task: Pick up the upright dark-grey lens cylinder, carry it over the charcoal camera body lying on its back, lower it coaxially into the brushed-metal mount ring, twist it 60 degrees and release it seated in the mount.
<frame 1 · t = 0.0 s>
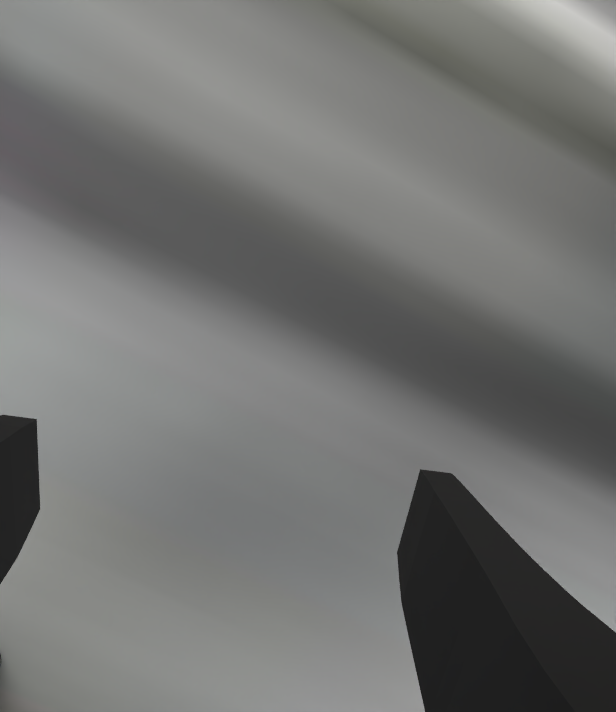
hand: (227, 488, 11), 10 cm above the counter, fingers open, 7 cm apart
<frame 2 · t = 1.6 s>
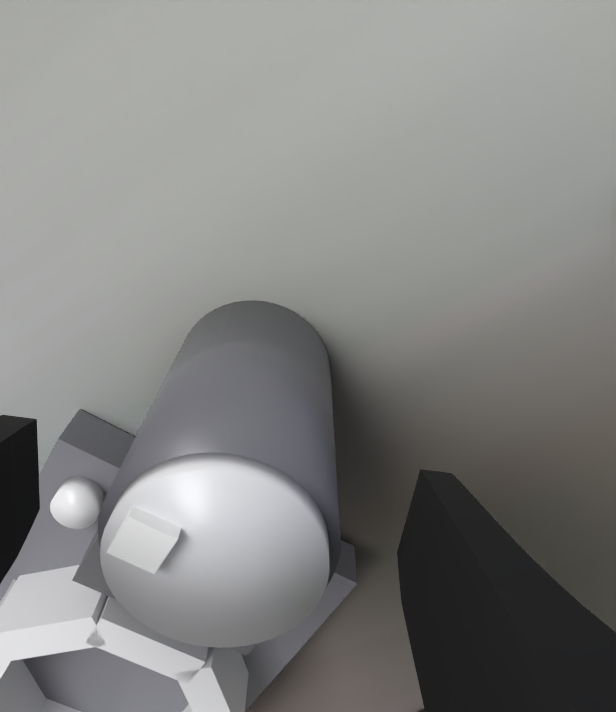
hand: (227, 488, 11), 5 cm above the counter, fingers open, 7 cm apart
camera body: (142, 600, 19), on the counter
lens: (254, 372, 16), on the counter
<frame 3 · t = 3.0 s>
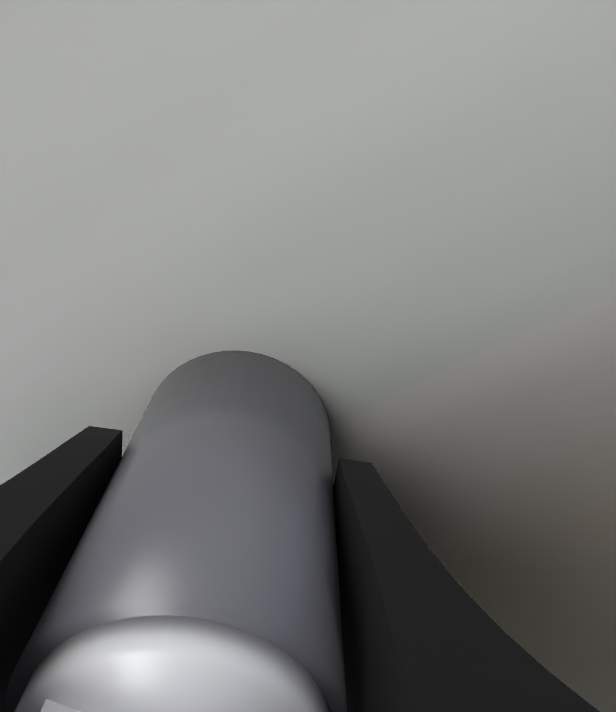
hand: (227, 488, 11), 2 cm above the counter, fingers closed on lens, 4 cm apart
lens: (238, 434, 13), on the counter, touching gripper
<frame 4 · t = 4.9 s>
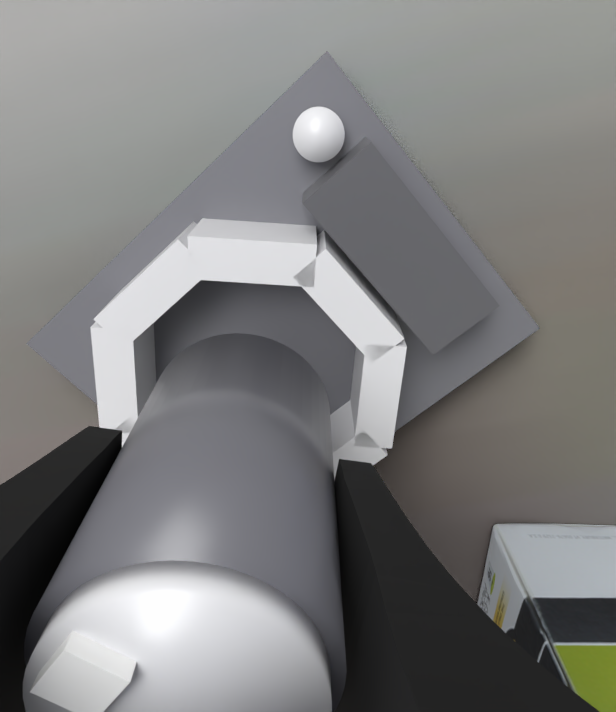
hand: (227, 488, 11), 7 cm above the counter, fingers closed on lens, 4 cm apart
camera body: (283, 316, 18), on the counter
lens: (241, 415, 13), point 5 cm above the counter, touching gripper
tea box: (578, 659, 24), on the counter
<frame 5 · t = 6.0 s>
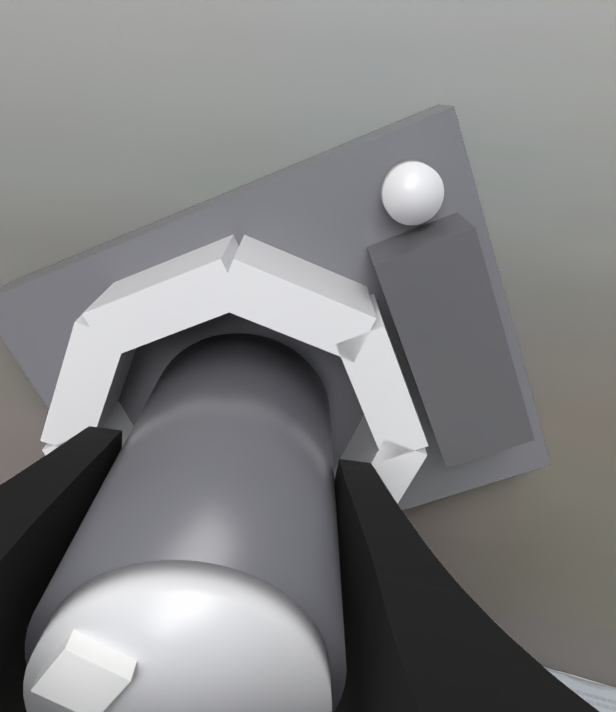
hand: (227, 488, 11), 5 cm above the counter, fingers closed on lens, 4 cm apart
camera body: (284, 362, 15), on the counter
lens: (241, 415, 13), point 2 cm above the counter, touching gripper
when the fingers open (5 cm above the counter, at t = 6.8 s): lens stays where it is, resting on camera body.
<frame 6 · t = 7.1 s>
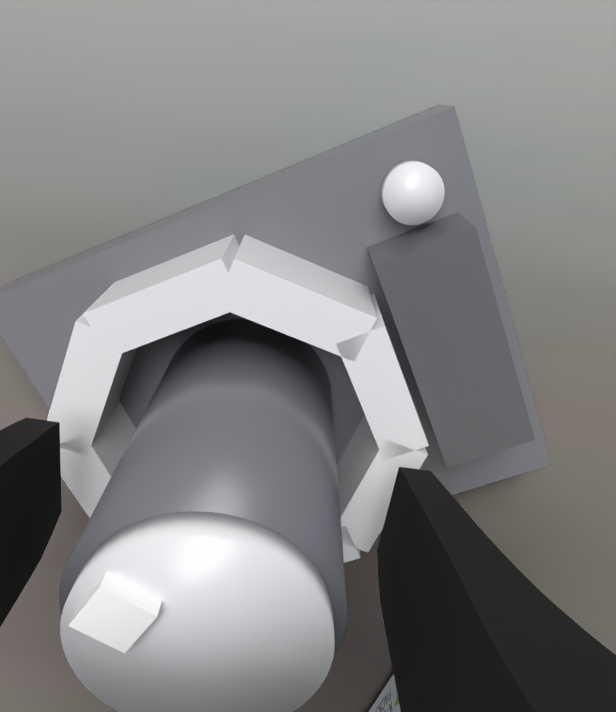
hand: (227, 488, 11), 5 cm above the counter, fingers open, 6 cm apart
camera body: (285, 362, 15), on the counter
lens: (247, 396, 14), point 2 cm above the counter, touching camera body
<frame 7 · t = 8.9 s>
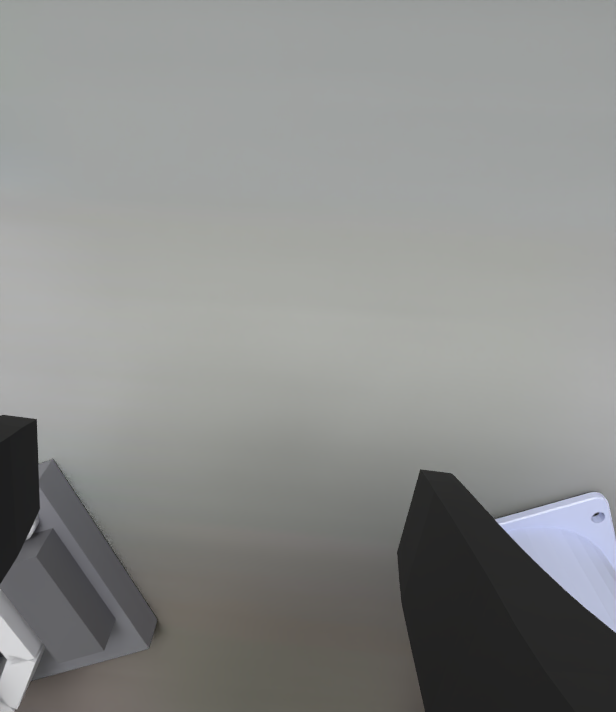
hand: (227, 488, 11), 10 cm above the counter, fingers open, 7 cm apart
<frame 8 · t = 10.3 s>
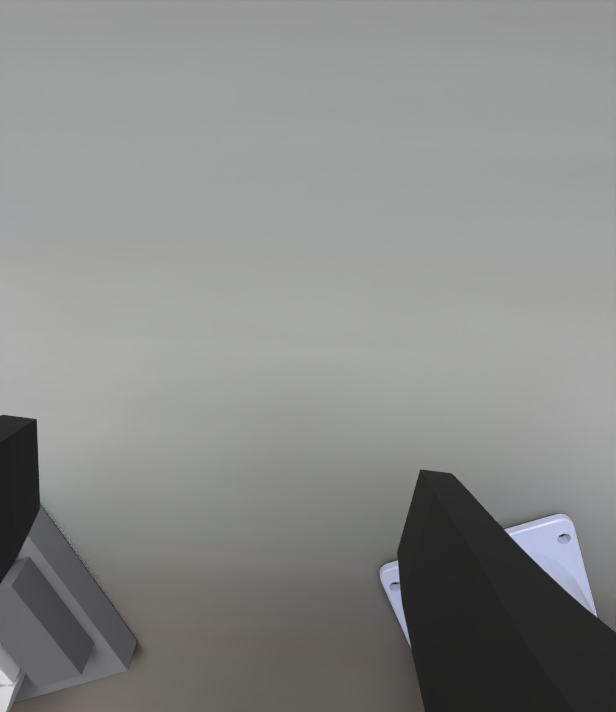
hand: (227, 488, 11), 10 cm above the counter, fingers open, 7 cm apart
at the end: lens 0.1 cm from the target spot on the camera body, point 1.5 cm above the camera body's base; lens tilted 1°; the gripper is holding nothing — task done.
